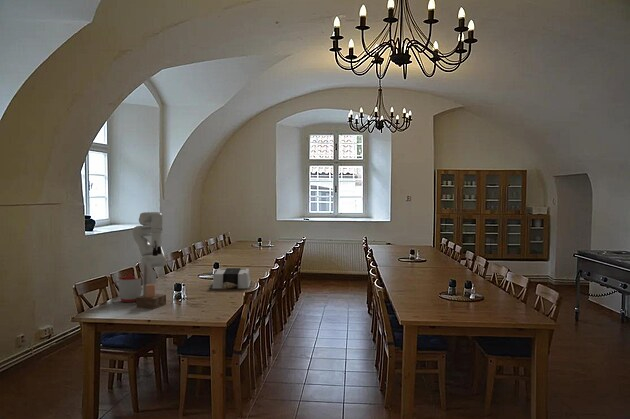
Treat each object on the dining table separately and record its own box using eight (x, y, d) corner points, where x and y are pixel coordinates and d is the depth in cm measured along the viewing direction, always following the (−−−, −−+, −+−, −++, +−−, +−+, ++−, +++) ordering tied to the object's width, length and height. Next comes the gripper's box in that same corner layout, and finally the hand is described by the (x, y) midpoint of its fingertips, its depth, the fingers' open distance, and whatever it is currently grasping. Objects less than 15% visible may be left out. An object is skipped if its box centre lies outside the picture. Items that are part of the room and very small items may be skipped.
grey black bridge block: (250, 289, 404) (250, 274, 403) (208, 290, 401) (208, 274, 401) (252, 281, 439) (252, 267, 438) (214, 281, 436) (214, 267, 436)
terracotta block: (147, 295, 347) (147, 283, 347) (156, 295, 348) (155, 283, 348) (145, 297, 341) (145, 285, 341) (154, 296, 342) (154, 285, 342)
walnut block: (148, 303, 354) (148, 293, 354) (166, 304, 350) (166, 294, 350) (136, 307, 340) (136, 297, 340) (154, 309, 337) (154, 299, 336)
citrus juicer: (148, 299, 364) (148, 272, 364) (130, 304, 349) (130, 275, 348) (132, 297, 371) (132, 270, 370) (113, 301, 355) (113, 273, 354)
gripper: (154, 229, 359) (154, 253, 360) (148, 231, 342) (148, 256, 343) (165, 229, 360) (165, 253, 361) (159, 231, 343) (159, 256, 343)
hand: (156, 254), depth 352 cm, fingers open, 9 cm apart
